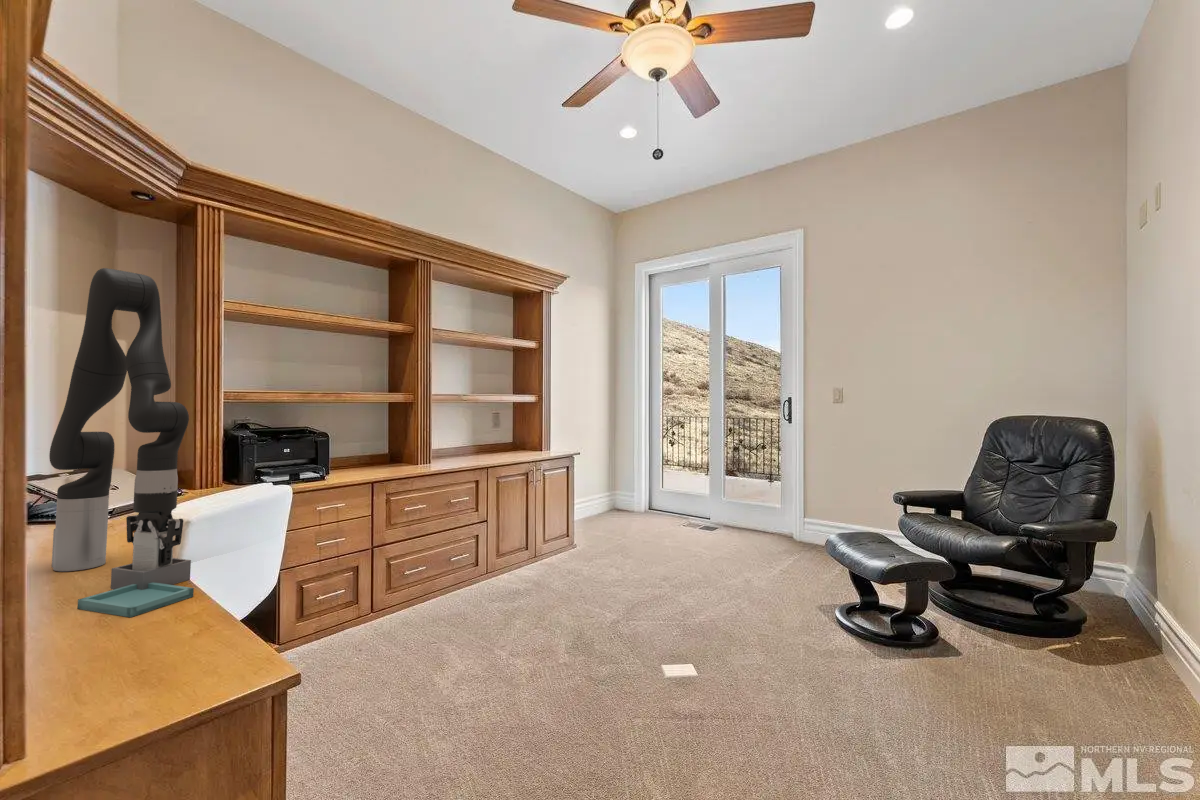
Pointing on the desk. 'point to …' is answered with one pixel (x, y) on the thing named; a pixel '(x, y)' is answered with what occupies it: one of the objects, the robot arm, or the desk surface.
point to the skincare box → (146, 551)
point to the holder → (151, 575)
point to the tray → (135, 599)
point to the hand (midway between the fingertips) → (152, 563)
